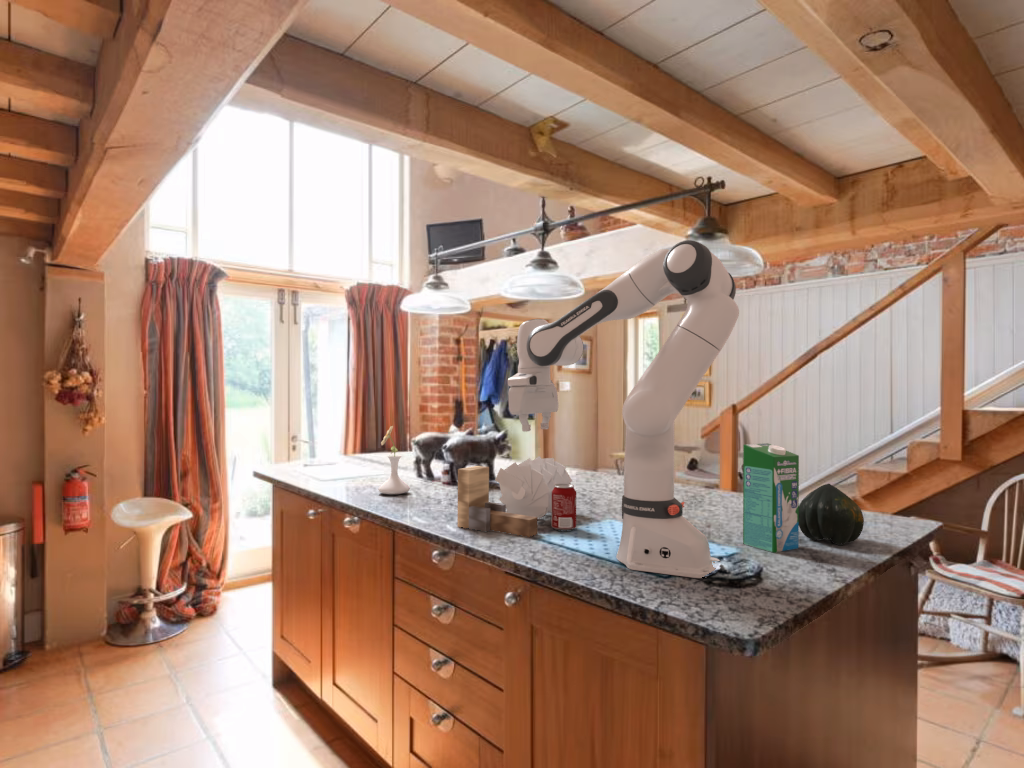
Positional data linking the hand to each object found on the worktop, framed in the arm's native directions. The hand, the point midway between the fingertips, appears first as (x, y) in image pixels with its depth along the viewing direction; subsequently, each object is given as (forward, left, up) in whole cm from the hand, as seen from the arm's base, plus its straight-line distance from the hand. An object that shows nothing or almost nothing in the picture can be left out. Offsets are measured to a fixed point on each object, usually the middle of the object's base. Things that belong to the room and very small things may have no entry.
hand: (535, 430), depth 159 cm
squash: (-66, -36, -27) cm, 80 cm away
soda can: (-5, -6, -27) cm, 29 cm away
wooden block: (+5, +5, -27) cm, 28 cm away
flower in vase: (+71, -15, -27) cm, 77 cm away
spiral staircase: (+10, -15, -28) cm, 33 cm away
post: (+15, +5, -27) cm, 31 cm away
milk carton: (-55, -21, -27) cm, 65 cm away
